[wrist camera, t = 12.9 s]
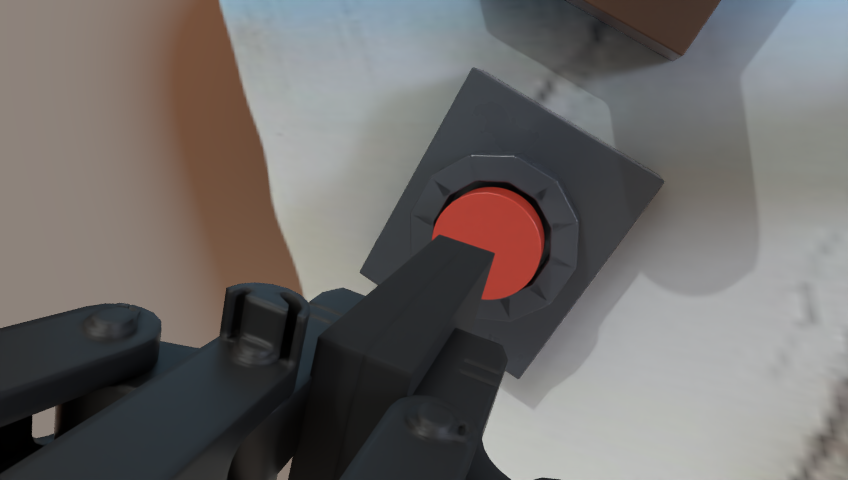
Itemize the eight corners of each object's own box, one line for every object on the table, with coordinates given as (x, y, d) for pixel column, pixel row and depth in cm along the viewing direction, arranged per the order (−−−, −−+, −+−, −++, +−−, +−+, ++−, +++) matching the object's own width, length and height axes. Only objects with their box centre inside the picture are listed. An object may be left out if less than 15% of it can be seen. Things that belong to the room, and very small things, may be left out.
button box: (481, 69, 28) (464, 64, 24) (659, 175, 26) (670, 187, 23) (373, 261, 32) (344, 283, 28) (523, 361, 31) (513, 397, 27)
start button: (474, 166, 25) (465, 170, 24) (565, 223, 25) (563, 232, 23) (423, 251, 27) (412, 261, 25) (508, 307, 26) (502, 320, 25)
